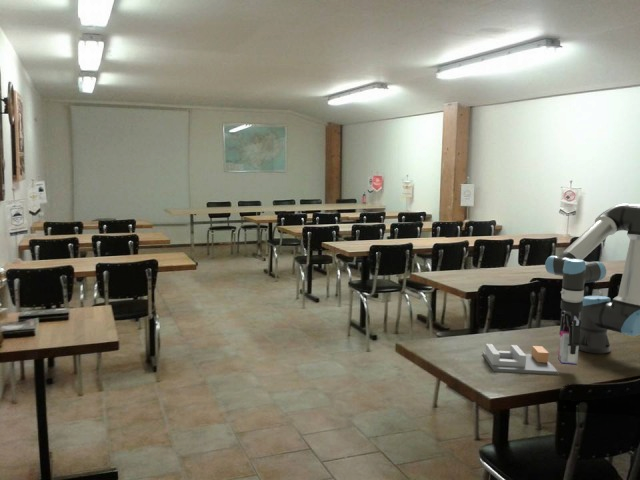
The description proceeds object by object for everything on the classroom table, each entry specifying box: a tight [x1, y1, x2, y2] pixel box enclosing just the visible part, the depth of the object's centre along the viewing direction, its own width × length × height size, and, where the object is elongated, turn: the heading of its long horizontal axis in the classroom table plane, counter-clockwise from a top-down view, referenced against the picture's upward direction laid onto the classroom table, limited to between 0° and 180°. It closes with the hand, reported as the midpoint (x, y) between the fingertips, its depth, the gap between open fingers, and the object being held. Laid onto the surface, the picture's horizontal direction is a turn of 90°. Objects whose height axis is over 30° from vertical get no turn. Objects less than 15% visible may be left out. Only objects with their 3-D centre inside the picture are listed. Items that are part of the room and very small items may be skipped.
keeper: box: [530, 345, 550, 363], centre depth 218 cm, size 4×8×4 cm, turn 176°
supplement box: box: [557, 331, 579, 366], centre depth 208 cm, size 6×6×12 cm
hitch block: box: [482, 343, 559, 375], centre depth 216 cm, size 24×19×6 cm
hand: (567, 358), depth 209 cm, fingers closed on supplement box, 6 cm apart
